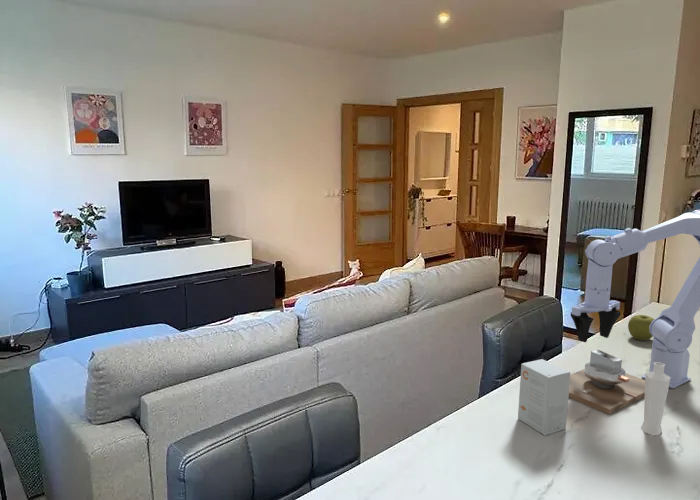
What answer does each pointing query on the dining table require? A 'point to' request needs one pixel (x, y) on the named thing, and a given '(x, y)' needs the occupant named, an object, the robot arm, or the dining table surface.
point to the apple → (640, 327)
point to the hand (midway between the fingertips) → (593, 338)
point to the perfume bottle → (655, 398)
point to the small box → (544, 396)
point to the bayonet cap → (605, 368)
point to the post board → (605, 392)
